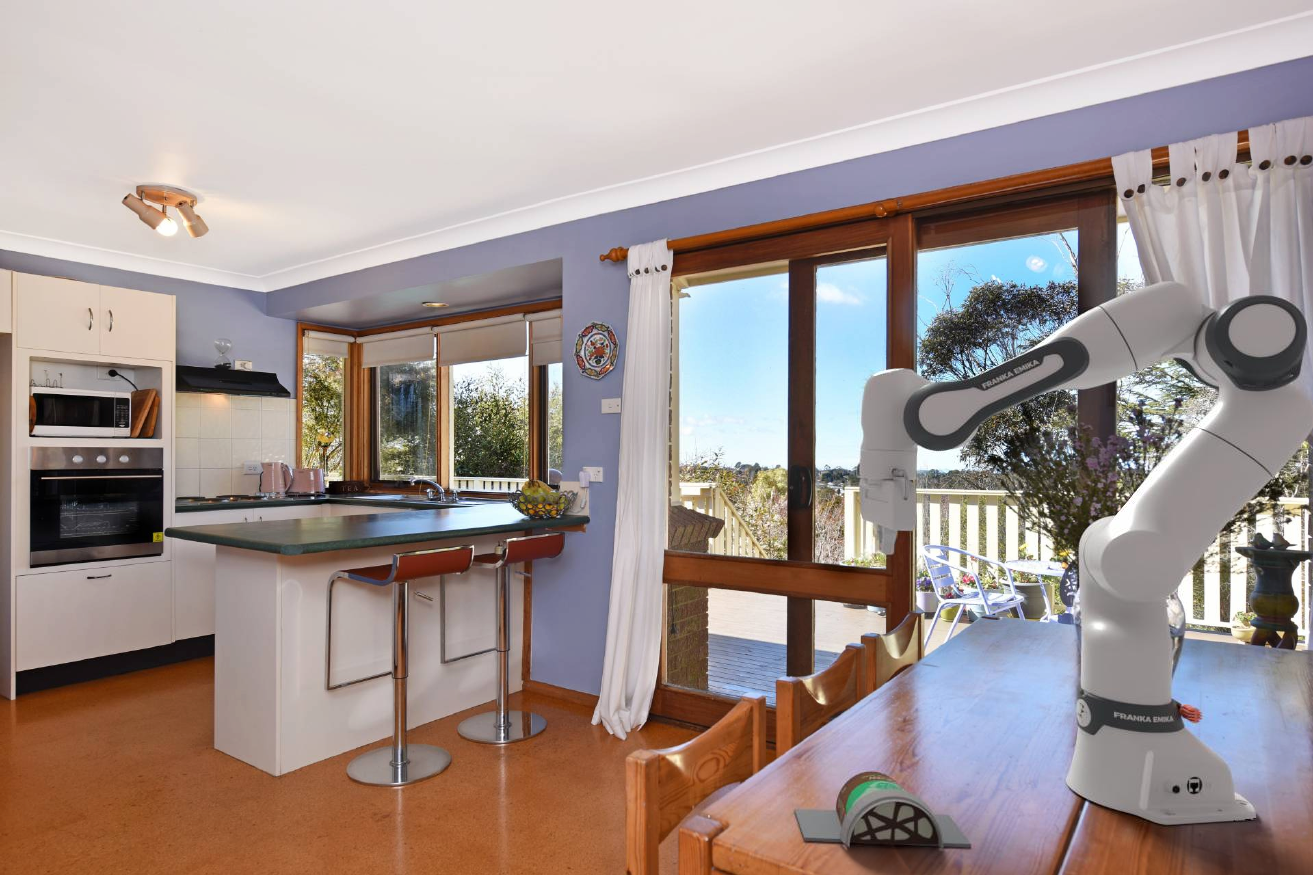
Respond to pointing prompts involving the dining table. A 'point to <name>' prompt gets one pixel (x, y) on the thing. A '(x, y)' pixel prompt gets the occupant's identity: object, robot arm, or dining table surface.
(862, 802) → the food container
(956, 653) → the dining table surface
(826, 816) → the charcoal rubber mat
